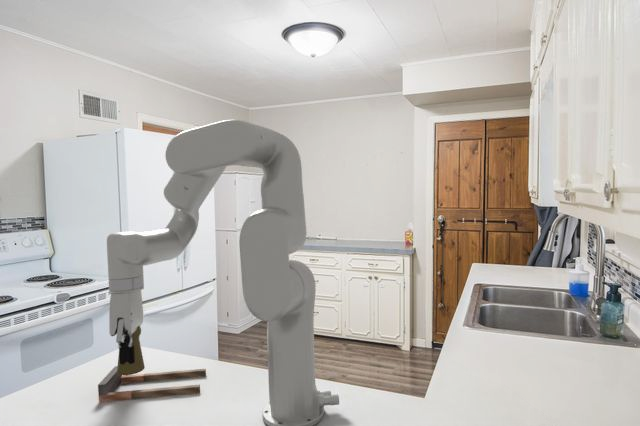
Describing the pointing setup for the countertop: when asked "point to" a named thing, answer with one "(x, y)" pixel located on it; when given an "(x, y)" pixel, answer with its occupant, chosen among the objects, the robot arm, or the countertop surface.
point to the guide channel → (114, 380)
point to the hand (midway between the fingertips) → (130, 359)
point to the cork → (139, 363)
